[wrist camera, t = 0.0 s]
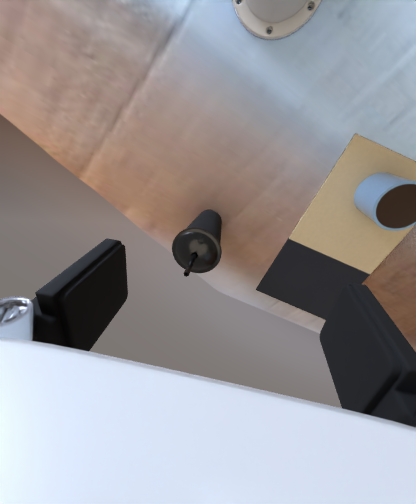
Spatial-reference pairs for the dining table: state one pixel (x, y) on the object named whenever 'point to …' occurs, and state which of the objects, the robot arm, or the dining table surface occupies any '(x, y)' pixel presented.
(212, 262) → the drinking cup
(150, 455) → the robot arm
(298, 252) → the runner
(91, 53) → the dining table surface
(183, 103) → the dining table surface
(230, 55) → the dining table surface
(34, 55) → the dining table surface
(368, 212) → the mug
